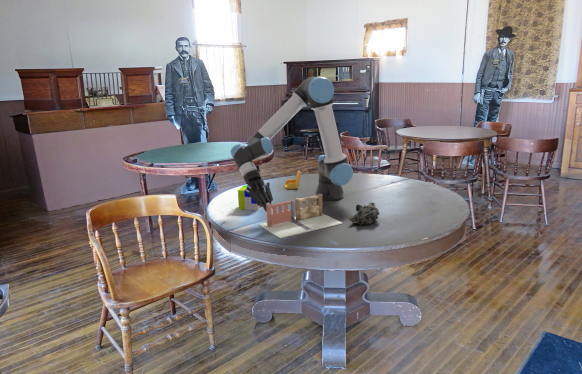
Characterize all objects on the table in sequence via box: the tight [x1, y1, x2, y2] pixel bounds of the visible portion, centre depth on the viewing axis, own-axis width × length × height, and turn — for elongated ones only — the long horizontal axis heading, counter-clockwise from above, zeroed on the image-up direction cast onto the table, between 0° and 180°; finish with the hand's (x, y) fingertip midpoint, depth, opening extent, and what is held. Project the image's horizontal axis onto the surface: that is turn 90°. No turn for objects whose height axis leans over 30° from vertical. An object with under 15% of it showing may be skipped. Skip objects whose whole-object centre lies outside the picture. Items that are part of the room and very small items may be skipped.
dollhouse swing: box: [283, 170, 302, 190], centre depth 262 cm, size 10×10×9 cm
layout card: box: [258, 213, 344, 239], centre depth 198 cm, size 32×20×1 cm, turn 120°
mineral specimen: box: [348, 201, 380, 226], centre depth 198 cm, size 15×13×10 cm
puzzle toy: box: [237, 184, 262, 211], centre depth 225 cm, size 10×10×10 cm
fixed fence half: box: [294, 194, 323, 220], centre depth 205 cm, size 14×2×10 cm, turn 120°
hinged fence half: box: [266, 199, 296, 227], centre depth 197 cm, size 14×2×10 cm, turn 125°
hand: (273, 216), depth 197 cm, fingers closed
